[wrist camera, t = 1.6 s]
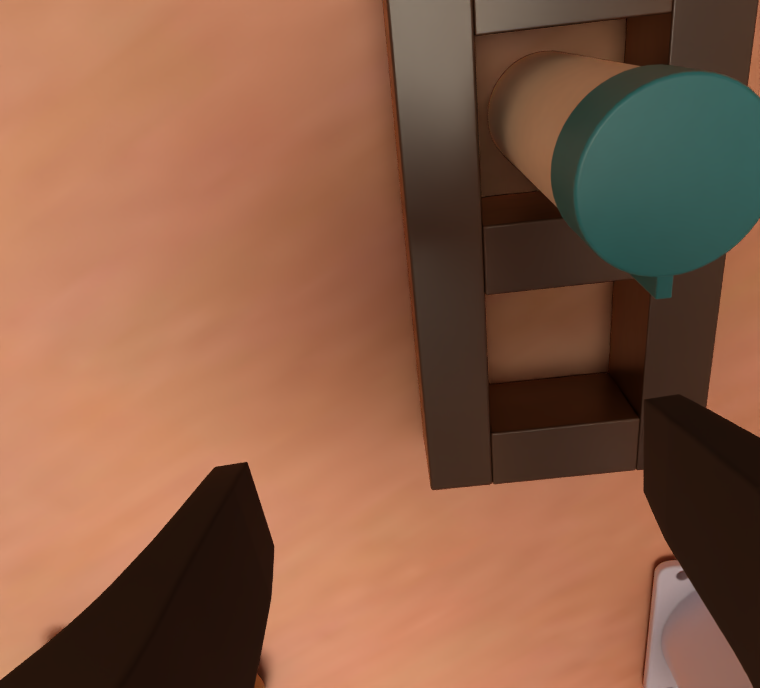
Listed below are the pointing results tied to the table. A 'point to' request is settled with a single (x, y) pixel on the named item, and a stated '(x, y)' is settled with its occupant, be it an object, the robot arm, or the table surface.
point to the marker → (635, 157)
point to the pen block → (535, 249)
